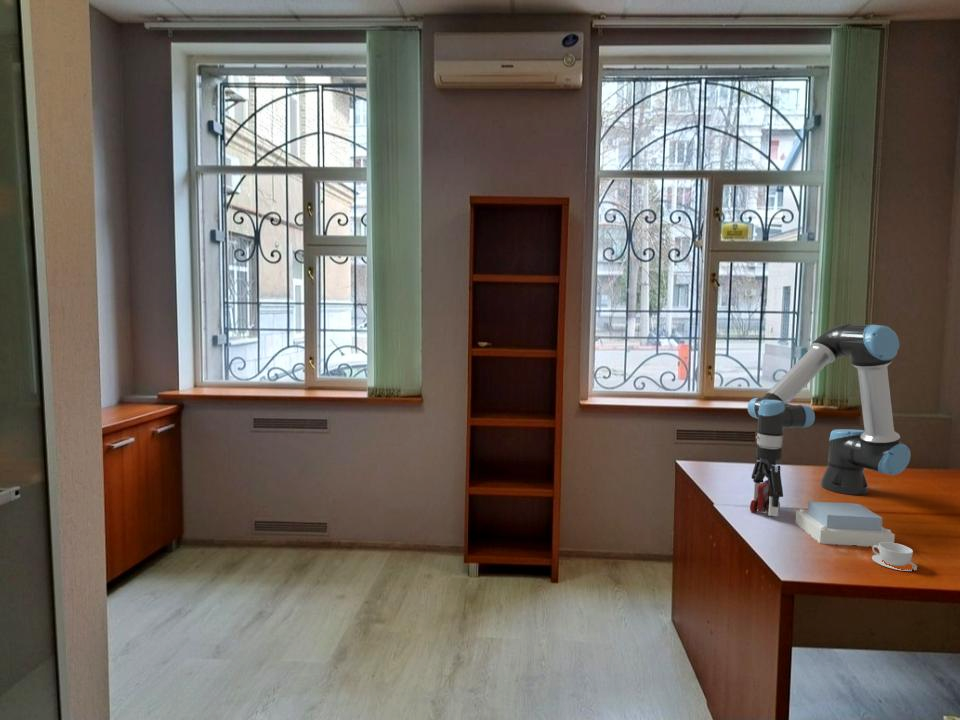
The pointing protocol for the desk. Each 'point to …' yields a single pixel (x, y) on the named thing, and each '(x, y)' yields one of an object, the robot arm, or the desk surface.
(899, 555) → the teacup
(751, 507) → the red toy vehicle
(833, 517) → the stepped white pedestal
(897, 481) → the desk surface
